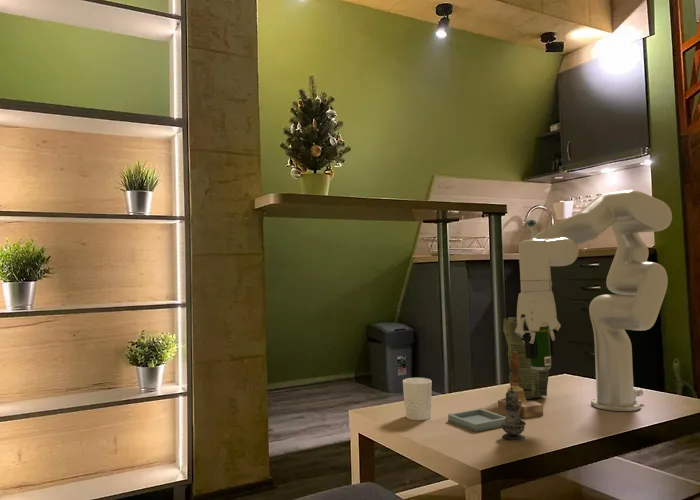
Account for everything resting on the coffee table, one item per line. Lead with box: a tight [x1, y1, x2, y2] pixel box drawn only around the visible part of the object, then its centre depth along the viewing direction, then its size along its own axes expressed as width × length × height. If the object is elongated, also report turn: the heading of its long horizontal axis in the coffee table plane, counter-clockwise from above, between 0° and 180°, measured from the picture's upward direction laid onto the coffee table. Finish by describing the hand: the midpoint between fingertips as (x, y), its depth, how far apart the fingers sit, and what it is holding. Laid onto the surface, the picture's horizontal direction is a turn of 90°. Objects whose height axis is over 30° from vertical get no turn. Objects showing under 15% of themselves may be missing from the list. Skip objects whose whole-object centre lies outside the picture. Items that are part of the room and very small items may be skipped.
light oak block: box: [522, 401, 544, 418], centre depth 148 cm, size 6×4×3 cm, turn 109°
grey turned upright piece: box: [500, 386, 527, 442], centre depth 129 cm, size 6×6×12 cm
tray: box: [447, 407, 506, 433], centre depth 141 cm, size 11×11×2 cm
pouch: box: [502, 316, 550, 400], centre depth 169 cm, size 11×12×25 cm
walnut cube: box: [497, 397, 523, 418], centre depth 146 cm, size 4×4×4 cm
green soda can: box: [528, 322, 552, 370], centre depth 140 cm, size 5×5×12 cm
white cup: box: [402, 377, 433, 421], centre depth 149 cm, size 8×8×10 cm
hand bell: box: [506, 352, 528, 403], centre depth 156 cm, size 8×8×16 cm
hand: (539, 356), depth 140 cm, fingers closed on green soda can, 5 cm apart
